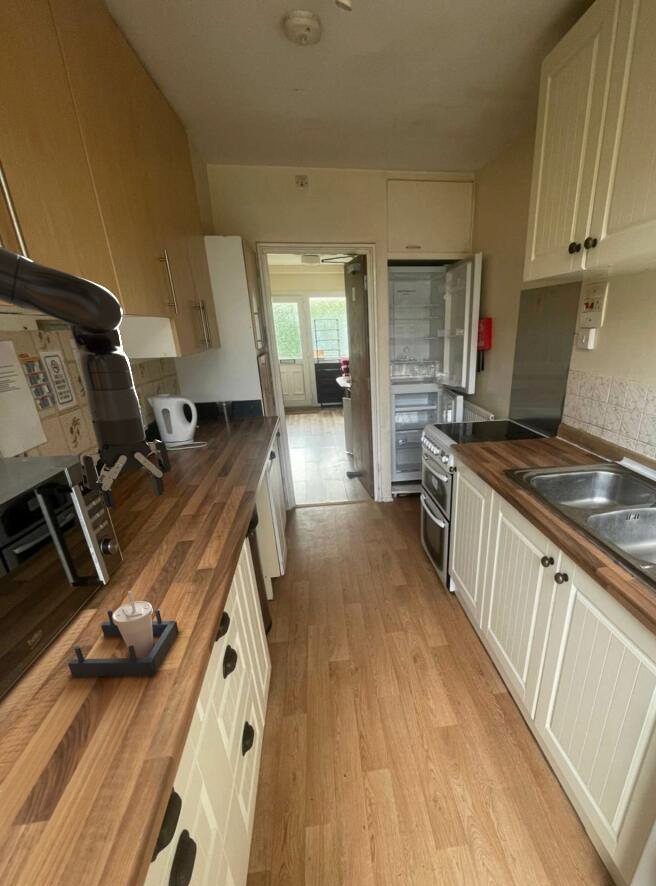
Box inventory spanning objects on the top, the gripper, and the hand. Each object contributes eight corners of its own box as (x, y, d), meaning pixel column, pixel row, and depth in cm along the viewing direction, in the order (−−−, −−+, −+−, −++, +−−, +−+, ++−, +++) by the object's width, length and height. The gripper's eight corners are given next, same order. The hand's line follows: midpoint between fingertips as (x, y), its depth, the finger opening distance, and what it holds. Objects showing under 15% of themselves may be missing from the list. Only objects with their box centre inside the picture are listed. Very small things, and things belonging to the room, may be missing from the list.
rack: (72, 676, 75) (62, 650, 73) (107, 633, 86) (100, 609, 84) (153, 675, 76) (147, 648, 74) (178, 632, 87) (173, 608, 84)
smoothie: (142, 668, 78) (125, 605, 72) (115, 660, 79) (97, 597, 74) (169, 646, 83) (155, 585, 78) (143, 638, 85) (128, 578, 79)
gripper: (147, 406, 81) (162, 487, 87) (59, 417, 70) (84, 507, 77) (168, 411, 77) (182, 495, 83) (78, 423, 66) (103, 518, 73)
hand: (135, 501), depth 80 cm, fingers open, 8 cm apart
